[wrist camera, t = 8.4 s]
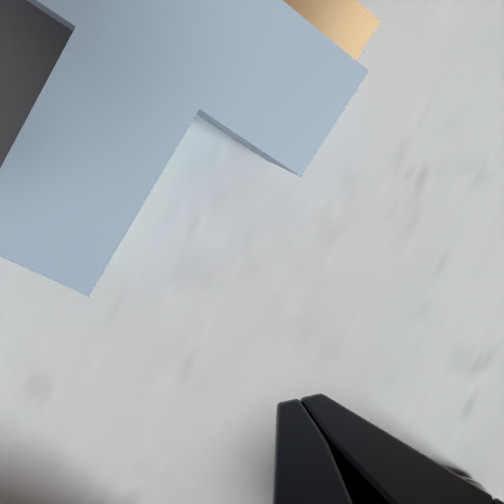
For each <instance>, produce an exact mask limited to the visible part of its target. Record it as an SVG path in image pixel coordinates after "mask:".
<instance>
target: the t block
mask: <svg viewBox="0 0 504 504" xmlns="http://www.w3.org/2000/svg"><path fill="white" fill-rule="evenodd" d="M26 1H28V2H29V3H31V4H32V5H34V6H35V7H37V8H38V9H40V10H41V11H43V12H44V13H46V14H47V15H49V16H50V17H52V18H53V19H55V20H56V21H58V22H59V23H61V24H62V25H64V26H65V27H67V28H68V29H70V30H71V31H73V33H72V34H71V36H70V38H69V40H68V42H67V44H66V46H65V48H64V49H63V51H62V53H61V55H60V57H59V59H58V61H57V63H56V64H55V66H54V68H53V70H52V72H51V74H50V76H49V78H48V79H47V81H46V83H45V85H44V87H43V89H42V91H41V93H40V94H39V96H38V98H37V100H36V102H35V104H34V106H33V108H32V109H31V111H30V113H29V115H28V117H27V119H26V121H25V123H24V124H23V126H22V128H21V130H20V132H19V134H18V136H17V138H16V139H15V141H14V143H13V145H12V147H11V149H10V151H9V153H8V154H7V156H6V158H5V160H4V162H3V164H2V166H1V168H0V256H1V257H3V258H6V259H8V260H10V261H12V262H14V263H17V264H19V265H21V266H23V267H25V268H27V269H30V270H32V271H34V272H36V273H38V274H41V275H43V276H45V277H47V278H49V279H52V280H54V281H56V282H58V283H60V284H63V285H65V286H67V287H69V288H71V289H73V290H76V291H78V292H80V293H82V294H84V295H87V296H89V295H90V293H91V291H92V290H93V288H94V286H95V285H96V283H97V281H98V280H99V278H100V276H101V275H102V273H103V271H104V270H105V268H106V266H107V264H108V263H109V261H110V259H111V258H112V256H113V254H114V253H115V251H116V249H117V248H118V246H119V244H120V242H121V241H122V239H123V237H124V236H125V234H126V232H127V231H128V229H129V227H130V226H131V224H132V222H133V221H134V219H135V217H136V215H137V214H138V212H139V210H140V209H141V207H142V205H143V204H144V202H145V200H146V199H147V197H148V195H149V193H150V192H151V190H152V188H153V187H154V185H155V183H156V182H157V180H158V178H159V177H160V175H161V173H162V172H163V170H164V168H165V166H166V165H167V163H168V161H169V160H170V158H171V156H172V155H173V153H174V151H175V150H176V148H177V146H178V144H179V143H180V141H181V139H182V138H183V136H184V134H185V133H186V131H187V129H188V128H189V126H190V124H191V123H192V121H193V119H194V117H195V116H196V114H198V115H200V116H201V117H203V118H204V119H206V120H207V121H209V122H210V123H212V124H213V125H215V126H216V127H218V128H219V129H221V130H222V131H224V132H225V133H227V134H229V135H230V136H232V137H233V138H235V139H236V140H238V141H239V142H241V143H242V144H244V145H245V146H247V147H248V148H250V149H251V150H253V151H254V152H256V153H257V154H259V155H260V156H262V157H263V158H265V159H266V160H268V161H269V162H271V163H273V164H275V165H278V166H280V167H282V168H284V169H286V170H288V171H290V172H292V173H294V174H296V175H298V176H300V177H301V176H302V174H303V173H304V171H305V170H306V168H307V166H308V165H309V163H310V162H311V160H312V159H313V157H314V156H315V154H316V152H317V151H318V149H319V148H320V146H321V145H322V143H323V142H324V140H325V138H326V137H327V135H328V134H329V132H330V131H331V129H332V127H333V126H334V124H335V123H336V121H337V120H338V118H339V117H340V115H341V113H342V112H343V110H344V109H345V107H346V106H347V104H348V103H349V101H350V99H351V98H352V96H353V95H354V93H355V92H356V90H357V89H358V87H359V85H360V84H361V82H362V81H363V79H364V78H365V76H366V75H367V73H368V70H367V69H365V68H364V67H363V66H362V65H361V64H359V63H358V62H357V61H356V60H355V59H353V58H352V57H351V56H350V55H348V54H347V53H346V52H345V51H344V50H342V49H341V48H340V47H339V46H338V45H336V44H335V43H334V42H333V41H331V40H330V39H329V38H328V37H327V36H325V35H324V34H323V33H322V32H321V31H319V30H318V29H317V28H316V27H315V26H313V25H312V24H311V23H310V22H308V21H307V20H306V19H305V18H304V17H302V16H301V15H300V14H299V13H298V12H296V11H295V10H294V9H293V8H292V7H290V6H289V5H288V4H287V3H285V2H284V1H283V0H26Z"/></svg>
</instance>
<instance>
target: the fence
mask: <svg viewBox="0 0 504 504" xmlns="http://www.w3.org/2000/svg"><path fill="white" fill-rule="evenodd" d="M283 1H284V2H285V3H287V4H288V5H289V6H290V7H292V8H293V9H294V10H295V11H296V12H298V13H299V14H300V15H301V16H302V17H304V18H305V19H306V20H307V21H308V22H310V23H311V24H312V25H313V26H315V27H316V28H317V29H318V30H319V31H321V32H322V33H323V34H324V35H325V36H327V37H328V38H329V39H330V40H331V41H333V42H334V43H335V44H336V45H338V46H339V47H340V48H341V49H342V50H344V51H345V52H346V53H347V54H348V55H350V56H351V57H352V58H353V59H355V60H356V59H357V58H358V56H359V55H360V53H361V52H362V50H363V48H364V47H365V45H366V44H367V42H368V41H369V39H370V37H371V36H372V34H373V33H374V31H375V30H376V28H377V26H378V25H379V23H380V22H381V21H379V20H378V19H377V18H376V17H375V16H374V15H373V14H372V13H370V12H369V11H368V10H367V9H366V8H365V7H364V6H363V5H361V4H360V3H359V2H358V1H357V0H283Z"/></svg>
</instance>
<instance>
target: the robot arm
mask: <svg viewBox="0 0 504 504" xmlns="http://www.w3.org/2000/svg"><path fill="white" fill-rule="evenodd" d="M273 504H504V502H502V501H501V500H499V499H497V498H495V499H494V500H493V498H492V496H491V495H490V494H489V493H487V492H485V491H484V490H482V489H480V488H479V487H477V486H475V485H474V484H472V483H470V482H469V481H467V480H465V479H464V478H462V477H460V476H459V475H457V474H455V473H454V472H452V471H450V470H449V469H447V468H445V467H444V466H442V465H440V464H439V463H437V462H435V461H434V460H432V459H430V458H429V457H427V456H425V455H424V454H422V453H420V452H419V451H417V450H415V449H414V448H412V447H410V446H409V445H407V444H405V443H404V442H402V441H400V440H399V439H397V438H395V437H394V436H392V435H390V434H389V433H387V432H385V431H384V430H382V429H380V428H379V427H377V426H375V425H374V424H372V423H370V422H369V421H367V420H365V419H364V418H362V417H360V416H359V415H357V414H355V413H354V412H352V411H350V410H349V409H347V408H345V407H344V406H342V405H340V404H339V403H337V402H335V401H334V400H332V399H330V398H329V397H327V396H325V395H323V394H315V395H311V396H306V397H303V398H302V399H301V400H298V399H293V400H289V401H284V402H280V403H278V405H277V416H276V438H275V461H274V483H273Z"/></svg>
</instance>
